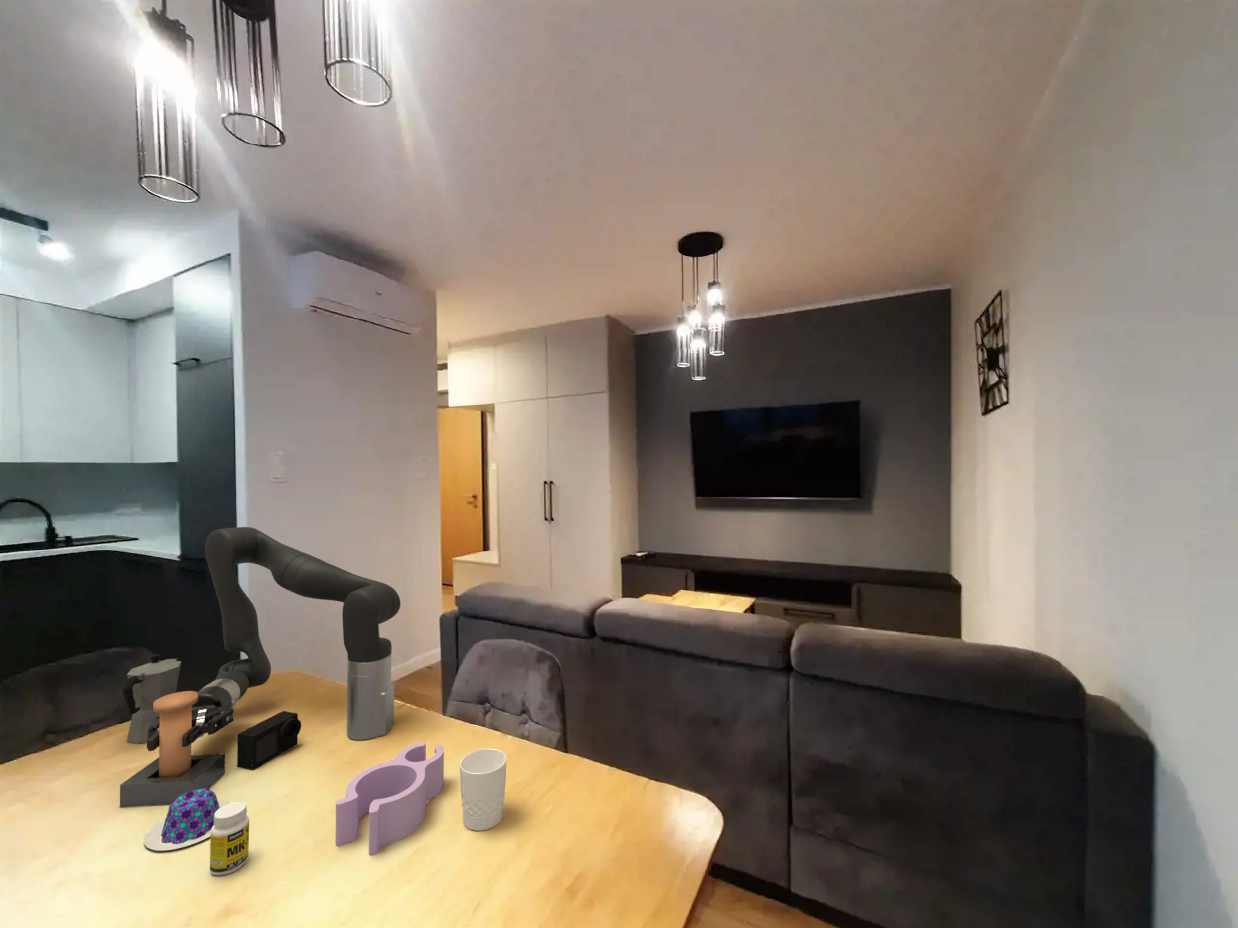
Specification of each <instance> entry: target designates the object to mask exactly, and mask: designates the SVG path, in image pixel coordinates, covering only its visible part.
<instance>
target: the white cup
mask: <svg viewBox="0 0 1238 928" xmlns="http://www.w3.org/2000/svg"><path fill="white" fill-rule="evenodd" d="M507 758H508V757H507V755H506V753H505V752H504V751H502V750H500V749H497V748H490V747H489V748H487V747H486V748H480V749H476V750H474V751H471V752H469V753H467V754H466V755H464V756H463V758H461V760H460V762H459V771H460V772H459V773H460V775H459V777H460V778H459V779H460V795H461V796H460V798H461V807H462V821H463V825H464V826H465V827H466V828H467V829H468V830H471V831H475V832H477V831H486V830H489V829H492V828H494V827H496V825H498V824H499V823H500V822H501V820H502V818H503V817H504V805H505V804H504V801H505V795H506V792H505V791H506V783H507V782H506V781H507V777H506V775H507Z"/></svg>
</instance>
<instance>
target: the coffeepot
mask: <svg viewBox="0 0 1238 928" xmlns="http://www.w3.org/2000/svg"><path fill="white" fill-rule="evenodd" d="M160 655H161V654H158V653H155V654H152V655H150V661H151V662H149V663H145V664H142V665H139V666H137V667H133V668H131V669H130V670H129V671H128V672H127V673H126V674H127V675H126V676H127V680H126V681H125V684H123V688H122V695H123V697H124V700H125V704H126V706H127V709H128V713H129V714H130V715H132V716H131V720H130V724H129V728H128V729H129V730H128V733H127V739H126V741H127V742H129V743H130V744H135V745H136V744H147V740H148V728H149V726H150V724H151V722H152V721H153V719H154V718H155V717H157V716H160V713H157V712H154V711H153V703H154V701H156V700H157V699H159V698H161V697H163V696H166V695H169V694H173V693H177V692H176V691H177V688H178V683H179V682H178V681H179V677H180V671H181V666H182V661H180V660H178V658H169V659H164V660H159V659H160V657H161V656H160Z"/></svg>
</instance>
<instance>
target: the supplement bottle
mask: <svg viewBox="0 0 1238 928" xmlns="http://www.w3.org/2000/svg"><path fill="white" fill-rule="evenodd" d="M247 810H248V809H247V803H246V802H244V801H233V802H229V804H227V805H225V806H223V807H221V808H219V809H218V810H217V811H216V812H215V814H214V826H213V827H212V829H211V830H210V832H211V836H210V837H209V838H210V840H209V841H210V844H209V845H210V848H209V852H210V853H209V872H210V873H211V874H212V875H214V876H224V875H228V874H231V873H233V872H236V871H237V870H239V869H240V868H241V867H242V866H243V865H244V864H246V862H247V861H248V859H249V849H250V848H249V846H250V845H249V843H250V841H249V840H250V833H249V832H250V817H249V815H247V813H248V811H247Z"/></svg>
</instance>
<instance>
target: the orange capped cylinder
mask: <svg viewBox="0 0 1238 928" xmlns="http://www.w3.org/2000/svg"><path fill="white" fill-rule="evenodd" d="M197 701H198V691H195V690H194V691H193V690H186V691H184V690H183V691H177V692H175V693H173V694H169V695H166V696H163V697H161V698H159V699H157V700H156V701H154V703H153V711H154V712H157V713H160V729H159V749H158V753H159V755H158V758H159V778H166V777H181V776H182V775H183V774H185V773H186V772H187V771H188V770H190V769H191V755H192V743H191V744H190V745H189V746H188V747H182V737H183V735H184V734H185V733H186V732H187V731H188V730H190V729H191V728H192V705H193V704H195V703H196V702H197Z"/></svg>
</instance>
